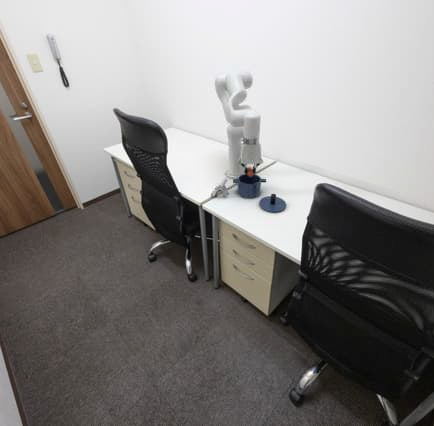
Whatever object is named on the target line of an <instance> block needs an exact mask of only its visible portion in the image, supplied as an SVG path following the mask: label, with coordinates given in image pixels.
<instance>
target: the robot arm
mask: <svg viewBox="0 0 434 426" xmlns="http://www.w3.org/2000/svg"><path fill="white" fill-rule="evenodd" d="M253 82H254V78H253V75H252V73H251V71H250V70H244V69H243V70H232V71H229V72H227V73H223V74H219V75H218V76H216V77H215V79H214V89H215V92H216V95H217V97H218V99H219V101H220V103H221V105H222V109H223V113H224V117H225V120H226V122H227V124H229V125H227V127H226V135H227V142H228V143H227V144H228V170H227V171H226V176H227V177H228V178H230V179H238V177H239V176H240V175H243V174H246V176H247V168H248V165H253V166H252V169H253V176H254V174H255V175H256V173H257V168H258V167H259V166H260V165H262V164H264V159H263V158H262V145H261V144H262V143H261V142H260V133H261V132H260V131H261V115H260V114H259V112H258V111H257V110H256V109H254V108H252V106H250V105H248V104H242V103H243V102H245V101H246V99H247V98H248V92H247V90H248V89H250V88H252V85H253ZM240 104H242V105H240Z"/></svg>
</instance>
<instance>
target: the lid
mask: <svg viewBox="0 0 434 426" xmlns="http://www.w3.org/2000/svg"><path fill="white" fill-rule="evenodd" d="M258 204H259V207H260V208H261V209H262V210H264V211H265V212H266V211H267V212H270V213H279V212H282V211H284V210H285V209H286V207H287V203H286V201H285V199H283V198H281V197H279V196H277V194H276V193H270V195H269V196H264V197H262V198H260V200H259V203H258Z"/></svg>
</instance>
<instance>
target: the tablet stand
mask: <svg viewBox="0 0 434 426" xmlns="http://www.w3.org/2000/svg"><path fill="white" fill-rule="evenodd" d="M227 182H228V178H227V177H224V178H223V179H222V180H221V182H220V183H219V184H218V185H216V187H215V188H214V190H213V191H212V192H211V193H210V196H211V197H212V198H215V196H216V195H217V193H218V192H219V191H220V190H221V191H222V194H223V196H224V197H225V198H226V197H227V195H228V194H229V191H228V189H227V187H226V183H227Z"/></svg>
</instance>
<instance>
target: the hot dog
mask: <svg viewBox="0 0 434 426" xmlns="http://www.w3.org/2000/svg"><path fill="white" fill-rule="evenodd" d="M247 175H248V177H253V167H251V166H247Z"/></svg>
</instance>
